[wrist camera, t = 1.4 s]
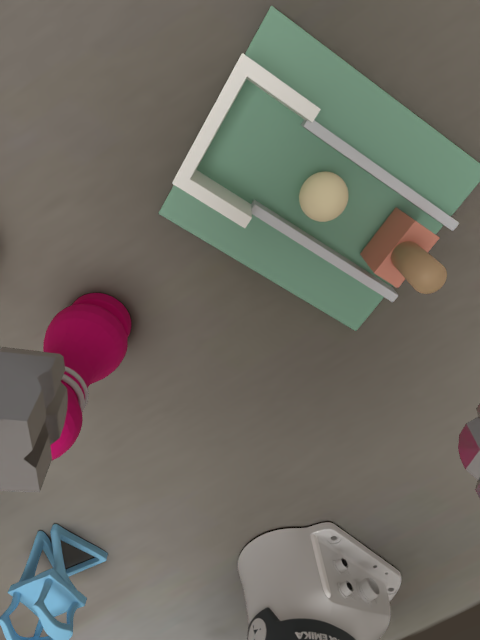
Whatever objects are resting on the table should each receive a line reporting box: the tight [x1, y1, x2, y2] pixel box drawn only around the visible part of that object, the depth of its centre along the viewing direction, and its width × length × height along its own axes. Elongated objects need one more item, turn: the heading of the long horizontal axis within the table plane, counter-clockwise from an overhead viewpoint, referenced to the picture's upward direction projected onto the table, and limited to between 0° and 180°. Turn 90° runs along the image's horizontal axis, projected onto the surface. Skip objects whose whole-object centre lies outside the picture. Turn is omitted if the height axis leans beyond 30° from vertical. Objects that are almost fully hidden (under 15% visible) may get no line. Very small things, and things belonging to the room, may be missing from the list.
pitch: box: [158, 6, 480, 331], centre depth 38 cm, size 22×18×6 cm
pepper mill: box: [43, 293, 131, 460], centre depth 37 cm, size 7×7×20 cm
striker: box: [360, 207, 447, 294], centre depth 36 cm, size 2×5×10 cm, turn 148°
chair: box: [0, 524, 108, 640], centre depth 55 cm, size 8×8×12 cm
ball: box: [299, 171, 348, 222], centre depth 38 cm, size 4×4×4 cm
